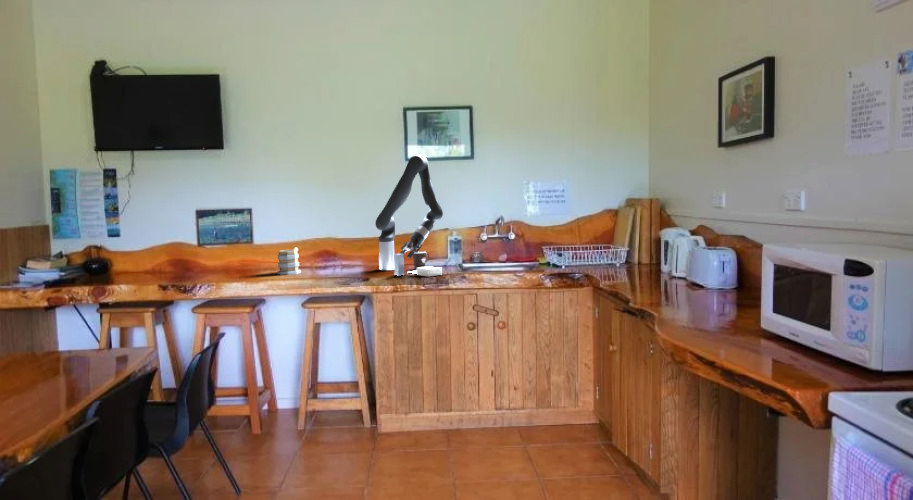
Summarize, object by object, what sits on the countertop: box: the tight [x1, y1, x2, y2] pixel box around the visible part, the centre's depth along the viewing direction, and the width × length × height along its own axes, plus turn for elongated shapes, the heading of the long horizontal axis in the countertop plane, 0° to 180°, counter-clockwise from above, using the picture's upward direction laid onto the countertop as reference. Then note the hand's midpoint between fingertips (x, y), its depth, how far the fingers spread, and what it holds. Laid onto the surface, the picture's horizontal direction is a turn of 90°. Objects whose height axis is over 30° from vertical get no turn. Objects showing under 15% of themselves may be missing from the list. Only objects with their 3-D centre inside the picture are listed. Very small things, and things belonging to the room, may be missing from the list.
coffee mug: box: [412, 251, 430, 270], centre depth 354 cm, size 12×9×10 cm
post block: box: [407, 265, 443, 278], centre depth 329 cm, size 20×10×4 cm, turn 39°
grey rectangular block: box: [393, 253, 405, 277], centre depth 326 cm, size 4×4×12 cm
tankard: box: [276, 246, 302, 276], centre depth 354 cm, size 20×13×15 cm, turn 168°
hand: (404, 257), depth 328 cm, fingers open, 8 cm apart
